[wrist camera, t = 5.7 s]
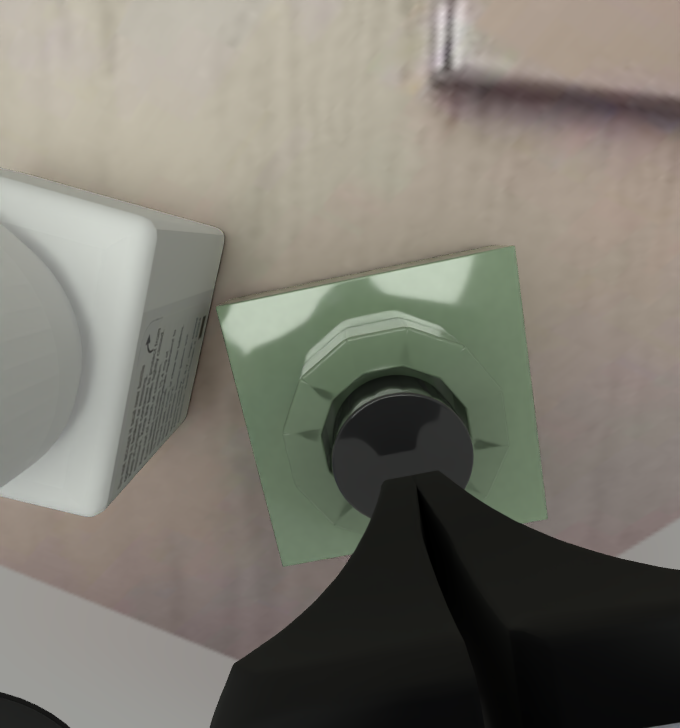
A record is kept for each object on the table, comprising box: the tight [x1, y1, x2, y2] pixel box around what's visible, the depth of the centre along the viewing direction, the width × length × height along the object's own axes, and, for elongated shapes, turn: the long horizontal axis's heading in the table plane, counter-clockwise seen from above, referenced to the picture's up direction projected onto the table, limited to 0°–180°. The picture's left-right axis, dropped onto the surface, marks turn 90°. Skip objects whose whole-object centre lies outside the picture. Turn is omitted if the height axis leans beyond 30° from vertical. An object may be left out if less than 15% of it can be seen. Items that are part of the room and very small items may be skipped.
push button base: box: [216, 246, 548, 567], centre depth 18 cm, size 10×10×4 cm
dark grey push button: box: [332, 375, 474, 518], centre depth 15 cm, size 4×4×2 cm
